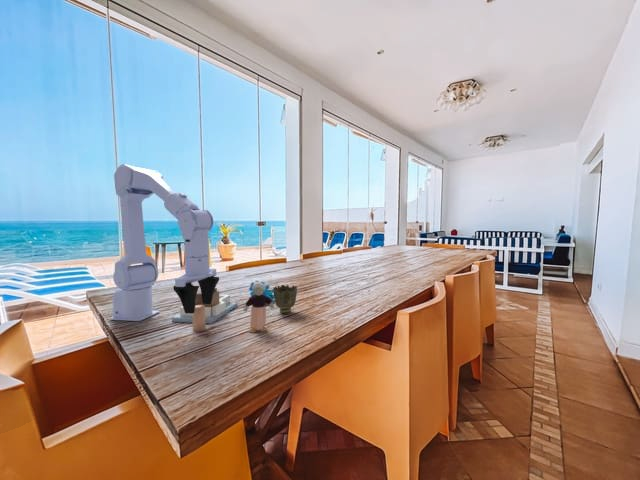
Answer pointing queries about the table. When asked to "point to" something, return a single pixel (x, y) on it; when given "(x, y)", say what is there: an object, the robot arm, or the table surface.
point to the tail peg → (199, 318)
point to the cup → (285, 298)
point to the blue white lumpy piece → (266, 292)
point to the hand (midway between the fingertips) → (198, 308)
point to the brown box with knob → (214, 300)
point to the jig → (208, 311)
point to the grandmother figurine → (258, 308)
